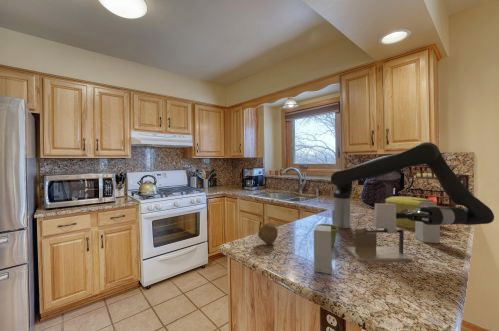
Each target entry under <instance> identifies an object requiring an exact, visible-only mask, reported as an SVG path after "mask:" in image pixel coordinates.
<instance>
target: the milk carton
mask: <svg viewBox="0 0 499 331" xmlns="http://www.w3.org/2000/svg"><path fill="white" fill-rule="evenodd" d="M425 206H438V205H437V202H436V201H434V202H419V205H418V206H417V207H416V210H420V209H421V208H422V207H425ZM414 232H415V233H414V234H415V235H414V238H416V239H418V240H419V241H421V242H422V243H434V244H440V242H441V241H440V238H441V236H440V235H441V225H426V224H424V223H423V222H419V221H415V228H414Z"/></svg>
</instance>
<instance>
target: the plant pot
mask: <svg viewBox="0 0 499 331" xmlns="http://www.w3.org/2000/svg"><path fill="white" fill-rule="evenodd" d="M318 225H322V226H331V248H334V247H335V244H336V238H337V233H338V230H339V229H340V228H338V227H337V226H334V225H332V224H329V223H328V224H327V223H320V224H318Z"/></svg>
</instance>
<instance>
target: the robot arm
mask: <svg viewBox="0 0 499 331" xmlns="http://www.w3.org/2000/svg"><path fill="white" fill-rule="evenodd" d="M420 165H426V166H427V167H428V168H429V169H430V171H431V172H432V173H433V174H434V176H435V177H436V180H437V181H438V183H439V184H440V187H441V188H442V190H443V191H444V193H445V194H446V195H447V197H448V198H449V199H450V200H451V201H452V202H453V204H454V205H457V206H462V208H461V207H457V206H440V205H439V206H438V205H437V206H425V207H422V208H421V209H420V210H413V211H409V210H407V209H405V210H402V211H401V213H396V219H410V220H411V221H419V222H423V223H424V224H426V225H440V226H445V225H446V226H447V225H466V226H469V225H470V226H474V225H488V224H491V223H493V222H494V220H495V214H494V212H493V211H492V209H491V208H490V207H489V206H488V205H486V203H484V202H483V201H481V200H480V199H479V198H477V196H474V195H473V194H472V193H471V191H470V190H469V189H468V188H467V187H466V185H465V184H464V183H463V182H462V180H460V178H459V177H458V176H457V175H456V174H455V173H454V171H453V170H452V169H451V167H450V166H449V164H448V163H447V162H446V160H445V158H444V156H443V155H442V153H441V150H440V149H439V147H438V146H437V145H436V143H433V142H428V141H426V142H421V143H419V144H417V145H415V146H413V147H411V148H409V149H406V150H404V151H401V152H399V153H395V154H388V155H384V156H380V157H376V158H374V159H370V160H368V161H365V162H362V163H360V164H357V165H355V166H352V167H350V168H346V169H341V170H336V171H334V172H333V173H332V175H331V176H330V181H331V183H332V185H334V186H336V189H335V190H334V192H333V204H332V205H333V209H332V212H331V214H332V217H331V218H332V220H331V222H332V223H331V225H334V226H337V227H338V228H339V229H349V228H350V227H351V195H352V192H353V182H355V181H361V180H368V179H374V178H378V177H381V176H386V175H389V174H392V173H394V172H397V171H399V170H401V169H406V168H410V167H415V166H420ZM463 207H464V208H463Z"/></svg>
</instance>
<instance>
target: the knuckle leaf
mask: <svg viewBox="0 0 499 331" xmlns="http://www.w3.org/2000/svg"><path fill="white" fill-rule="evenodd" d="M373 226H374V228H375V229H383V230H387V233H386V234H398V233H397V230H398V229H397V225H396V204H386V203H374V223H373Z"/></svg>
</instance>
